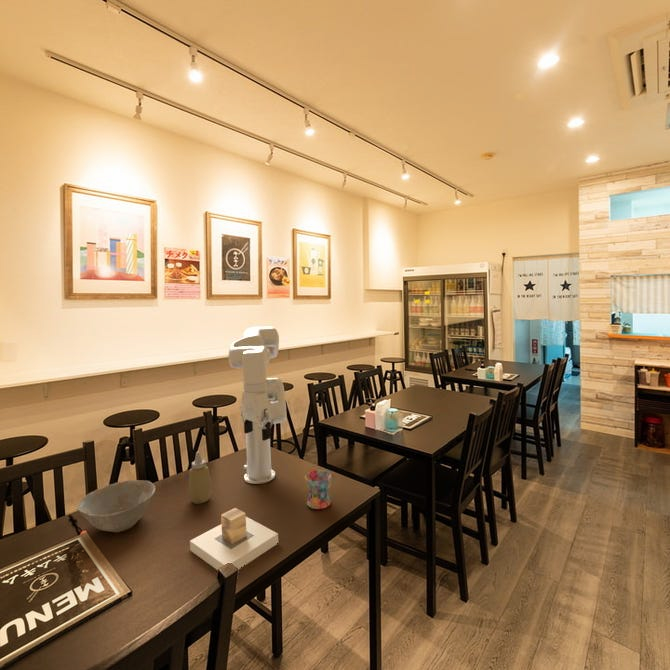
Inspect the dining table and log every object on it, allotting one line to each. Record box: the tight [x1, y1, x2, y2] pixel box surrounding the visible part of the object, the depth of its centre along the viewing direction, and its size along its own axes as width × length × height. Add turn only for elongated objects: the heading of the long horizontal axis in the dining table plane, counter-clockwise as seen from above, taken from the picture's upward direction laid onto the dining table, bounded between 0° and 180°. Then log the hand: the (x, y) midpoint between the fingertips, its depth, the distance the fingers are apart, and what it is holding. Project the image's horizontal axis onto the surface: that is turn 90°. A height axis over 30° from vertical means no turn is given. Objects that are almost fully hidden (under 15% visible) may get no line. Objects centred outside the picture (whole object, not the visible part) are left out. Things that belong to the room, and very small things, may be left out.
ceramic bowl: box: [77, 479, 156, 533], centre depth 128 cm, size 22×23×10 cm
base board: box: [189, 516, 279, 571], centre depth 115 cm, size 18×18×3 cm
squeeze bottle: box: [188, 451, 213, 505], centre depth 142 cm, size 8×8×18 cm
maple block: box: [220, 507, 247, 544], centre depth 115 cm, size 5×5×7 cm
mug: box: [304, 469, 335, 510], centre depth 138 cm, size 12×9×11 cm
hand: (257, 435), depth 133 cm, fingers open, 9 cm apart
